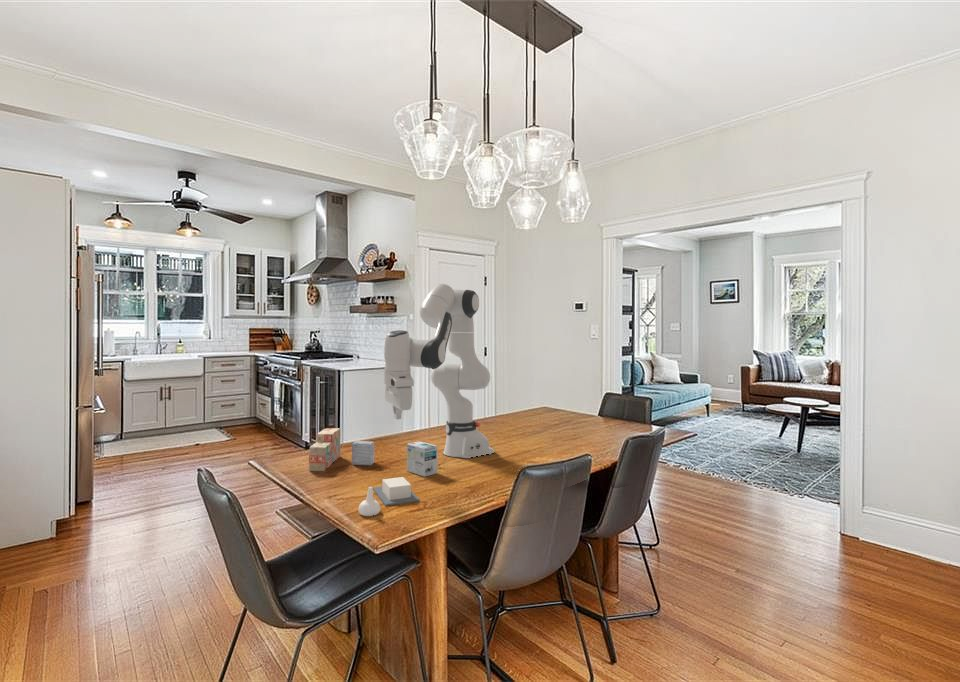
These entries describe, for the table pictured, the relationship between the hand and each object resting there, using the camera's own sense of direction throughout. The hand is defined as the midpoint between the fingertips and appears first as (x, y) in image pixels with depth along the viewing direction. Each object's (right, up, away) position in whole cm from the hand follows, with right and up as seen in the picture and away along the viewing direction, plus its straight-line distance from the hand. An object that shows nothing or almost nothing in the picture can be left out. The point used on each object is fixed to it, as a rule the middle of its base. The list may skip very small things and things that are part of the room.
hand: (397, 418), depth 168 cm
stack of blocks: (-34, -23, +29) cm, 50 cm away
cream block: (-1, -21, -4) cm, 22 cm away
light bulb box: (+6, -24, +18) cm, 31 cm away
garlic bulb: (-5, -25, -22) cm, 34 cm away
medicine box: (-19, -23, +29) cm, 41 cm away
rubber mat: (+1, -24, -7) cm, 25 cm away
